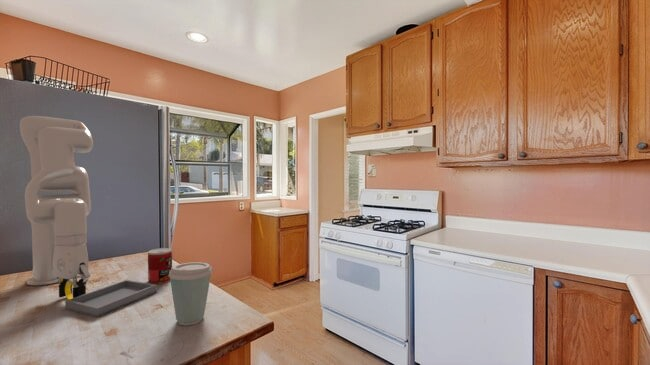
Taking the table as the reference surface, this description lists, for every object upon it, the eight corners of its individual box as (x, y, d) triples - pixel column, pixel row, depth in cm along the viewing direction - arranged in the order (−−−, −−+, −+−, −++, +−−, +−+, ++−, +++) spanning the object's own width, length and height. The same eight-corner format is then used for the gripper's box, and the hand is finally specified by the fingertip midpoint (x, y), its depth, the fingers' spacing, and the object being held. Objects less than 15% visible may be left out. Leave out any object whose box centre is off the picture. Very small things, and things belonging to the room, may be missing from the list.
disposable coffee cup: (182, 310, 83) (181, 258, 83) (219, 310, 83) (219, 258, 82) (160, 330, 72) (159, 270, 72) (202, 330, 72) (202, 271, 72)
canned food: (162, 284, 103) (161, 253, 102) (142, 282, 104) (142, 252, 104) (177, 277, 110) (176, 248, 110) (159, 275, 112) (158, 247, 111)
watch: (82, 300, 90) (83, 281, 90) (72, 303, 88) (72, 284, 88) (72, 295, 93) (72, 277, 93) (61, 298, 90) (62, 280, 90)
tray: (65, 309, 84) (65, 300, 83) (127, 286, 100) (126, 279, 100) (97, 317, 79) (97, 308, 79) (156, 292, 96) (156, 284, 96)
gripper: (39, 240, 89) (40, 297, 90) (74, 245, 83) (76, 306, 84) (68, 235, 96) (69, 289, 97) (102, 239, 90) (103, 296, 91)
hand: (72, 296), depth 90 cm, fingers closed on watch, 6 cm apart
